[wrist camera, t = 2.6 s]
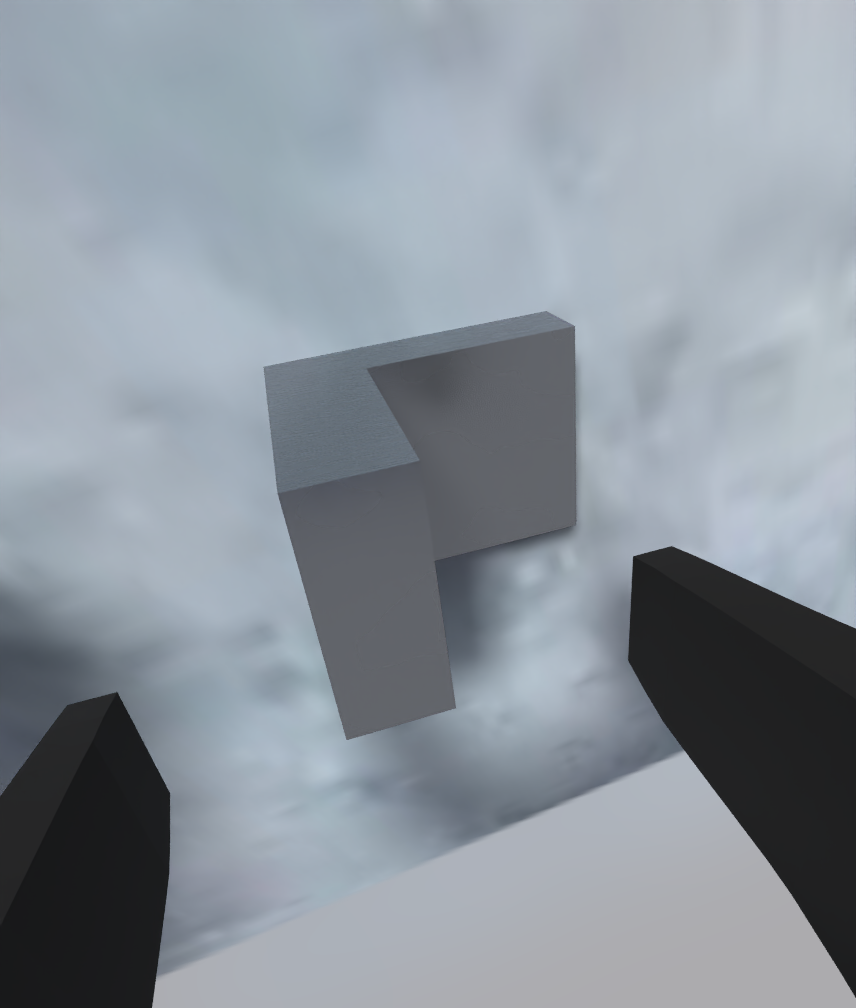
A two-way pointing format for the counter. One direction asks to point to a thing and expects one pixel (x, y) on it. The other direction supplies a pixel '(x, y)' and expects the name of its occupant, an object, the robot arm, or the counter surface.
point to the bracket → (416, 490)
